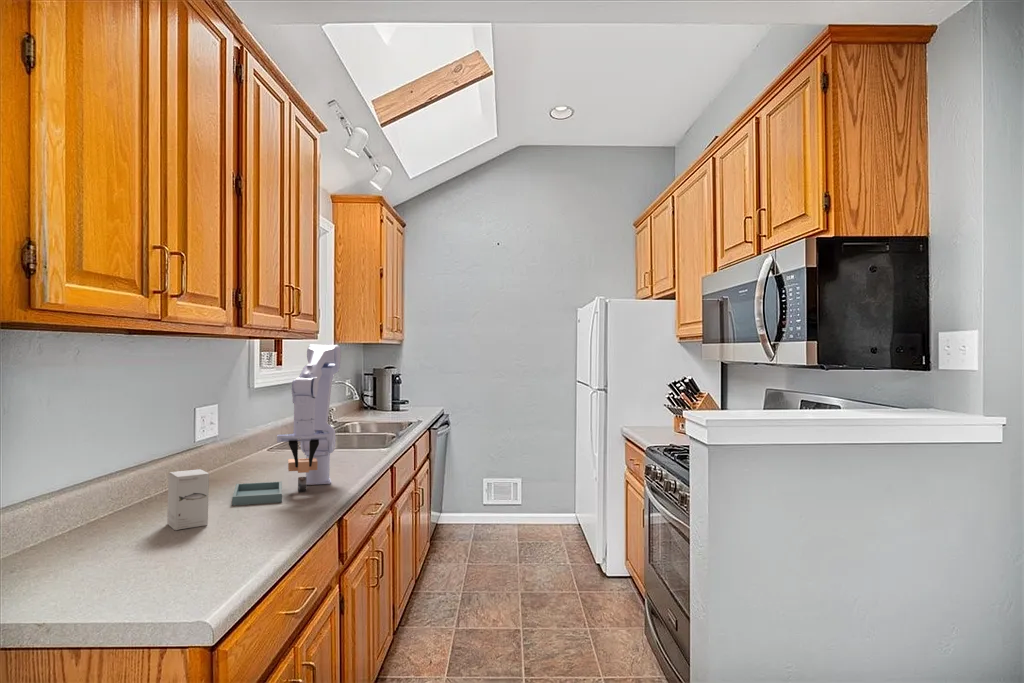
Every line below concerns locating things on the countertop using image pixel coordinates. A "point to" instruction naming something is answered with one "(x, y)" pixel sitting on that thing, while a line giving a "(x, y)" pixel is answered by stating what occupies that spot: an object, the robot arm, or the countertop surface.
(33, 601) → the countertop surface
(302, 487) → the grey metal cylinder
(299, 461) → the collar
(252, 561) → the countertop surface
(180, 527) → the supplement box
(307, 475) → the robot arm
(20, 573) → the countertop surface
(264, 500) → the tray
